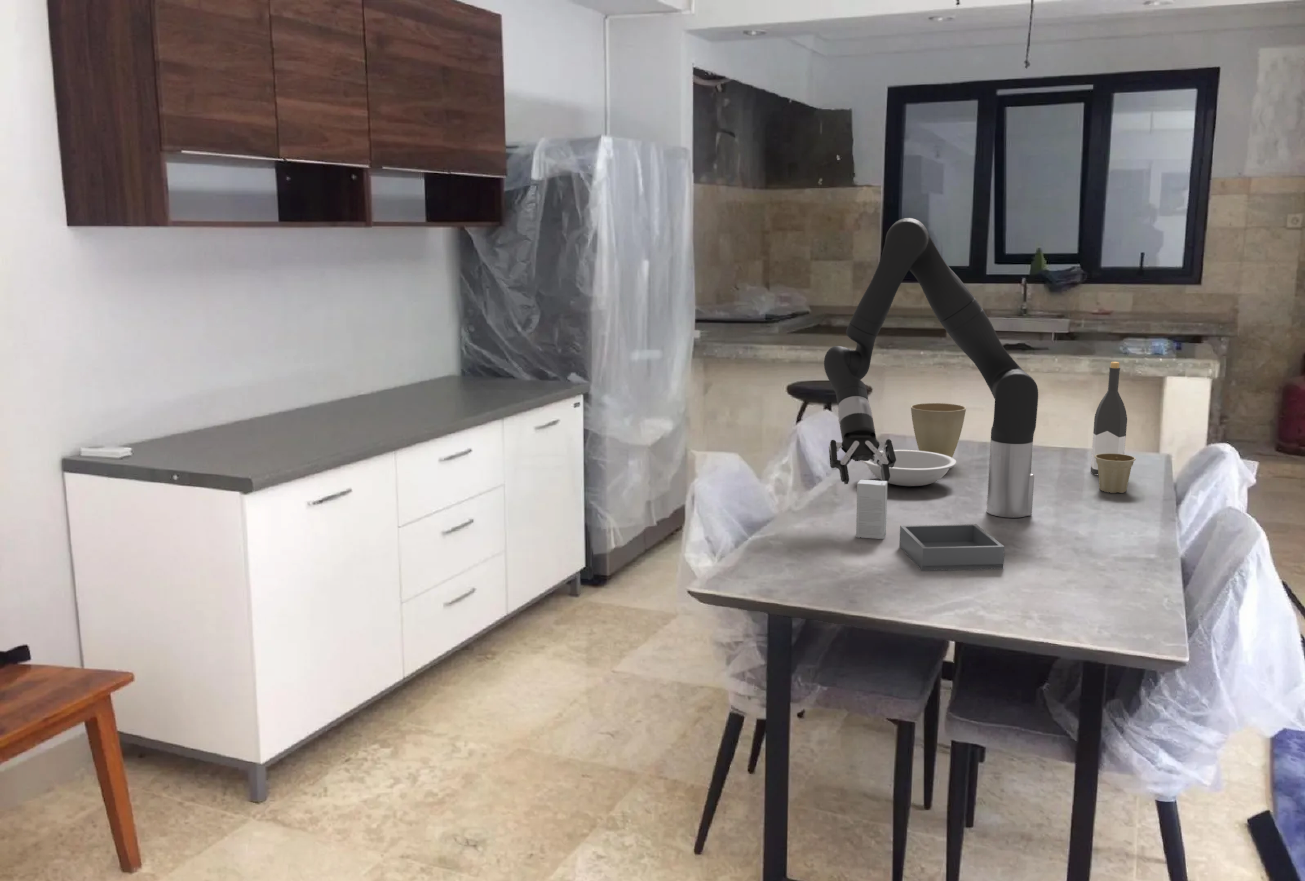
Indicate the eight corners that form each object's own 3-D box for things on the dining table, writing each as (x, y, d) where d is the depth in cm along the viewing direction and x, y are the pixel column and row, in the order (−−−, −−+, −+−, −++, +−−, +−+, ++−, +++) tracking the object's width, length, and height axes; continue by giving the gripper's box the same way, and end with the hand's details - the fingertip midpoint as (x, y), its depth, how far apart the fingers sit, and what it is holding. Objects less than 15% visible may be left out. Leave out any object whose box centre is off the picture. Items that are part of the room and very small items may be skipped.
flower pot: (1092, 493, 265) (1094, 459, 263) (1092, 484, 273) (1094, 451, 271) (1133, 496, 261) (1136, 462, 259) (1132, 487, 270) (1135, 454, 268)
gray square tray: (974, 544, 223) (976, 524, 222) (1003, 568, 207) (1004, 546, 206) (899, 546, 222) (900, 525, 221) (922, 570, 206) (923, 548, 206)
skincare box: (886, 534, 231) (888, 480, 228) (883, 540, 227) (885, 485, 224) (858, 532, 233) (859, 478, 230) (855, 537, 229) (856, 483, 226)
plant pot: (961, 458, 305) (964, 403, 302) (964, 469, 291) (967, 412, 288) (908, 456, 309) (910, 401, 306) (908, 467, 294) (910, 410, 291)
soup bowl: (941, 499, 260) (942, 473, 258) (847, 488, 271) (847, 463, 270) (965, 479, 280) (966, 454, 279) (876, 470, 292) (877, 446, 290)
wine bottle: (1125, 472, 286) (1134, 361, 280) (1119, 478, 280) (1129, 364, 274) (1093, 469, 291) (1101, 359, 285) (1087, 474, 284) (1095, 362, 278)
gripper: (827, 411, 238) (836, 473, 229) (890, 411, 239) (902, 472, 230) (822, 430, 244) (831, 491, 235) (883, 430, 245) (894, 490, 236)
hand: (866, 482), depth 232 cm, fingers open, 8 cm apart
